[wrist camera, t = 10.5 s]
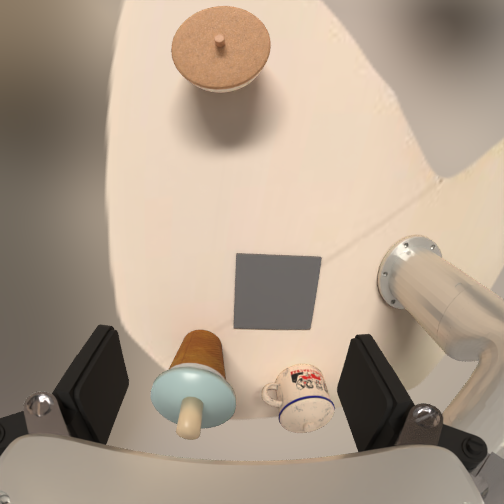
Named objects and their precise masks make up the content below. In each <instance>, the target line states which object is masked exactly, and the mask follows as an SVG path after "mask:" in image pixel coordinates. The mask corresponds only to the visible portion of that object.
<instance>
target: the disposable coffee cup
mask: <svg viewBox="0 0 504 504" xmlns="http://www.w3.org/2000/svg"><path fill="white" fill-rule="evenodd" d="M177 367H195V368H200V369H204V370H208V371H210V372H213V373H215V374H217V375H219V376H220V377H222V378H223V379H224V380H226V377H225V369H224V362H223V354H222V345H221V342H220V340H219V338H218V337H217V336H216V335H215V334H213V333H211V332H209V331H205V330H195V331H192V332H190V333H188V334H187V335H186V336H185V338H184V340H183V342H182V344H181V346H180V348H179V350H178V352H177V354H176V356H175V358H174V360H173V362H172V364H171V366H170V368H169V369H172V368H177Z"/></svg>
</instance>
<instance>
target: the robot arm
mask: <svg viewBox="0 0 504 504" xmlns="http://www.w3.org/2000/svg"><path fill="white" fill-rule="evenodd" d="M378 288H379V291H380V294H381V296H382V298H383V299H384V300H385V301H386V302H387V303H388V304H389V305H390V306H392V307H394V308H397V309H406V310H407V311H408V312H409V313H410V314H411V315H412V316H413V317H414V318H415V320H416V321H417V322H418V323H419V324H420V325H421V326H422V327H423V328H424V330H425V331H426V332H427V333H428V334H429V335H430V336H431V337H432V339H433V340H434V341H435V342H436V343H437V344H438V345H439V347H440V348H441V349H442V350H443V351H444V352H445V353H446V354H447V355H448V356H450V357H451V358H453V359H455V360H458V361H478V360H479V363H478V365H477V367H476V369H475V370H474V371H473V373H472V375H471V377H470V378H469V379H468V381H467V382H466V383H465V385H464V386H463V387H462V389H461V390H460V391H459V393H458V394H457V395H456V397H455V398H454V399H453V400H452V402H451V403H450V404H449V406H448V407H447V408H446V409H445V411H444V412H443V413H441V412H440V410H439V409H437V408H436V407H435V406H432V405H430V404H424V403H423V404H417V405H414V403H413V401H412V400H411V398H410V396H409V395H408V393H407V391H406V390H405V388H404V386H403V385H402V383H401V381H400V380H399V378H398V376H397V375H396V373H395V372H394V370H393V368H392V367H391V365H390V364H389V363H388V361H387V359H386V358H385V356H384V355H383V353H382V351H381V350H380V348H379V347H378V345H377V344H376V342H375V340H374V339H373V337H372V336H371V335H370V334H362V335H356V336H355V338H353V339H351V342H350V345H349V349H348V353H347V356H346V360H345V363H344V367H343V370H342V373H341V377H340V380H339V383H338V387H337V392H338V396H339V399H340V401H341V404H342V407H343V410H344V412H345V415H346V418H347V420H348V424H349V426H350V429H351V432H352V435H353V438H354V441H355V443H356V446H357V449H358V452H356V453H349V454H342V455H335V456H327V457H318V458H309V459H308V458H307V459H296V460H277V461H225V460H207V459H194V458H183V457H174V456H166V455H159V454H152V453H145V452H140V451H134V450H129V449H124V448H119V447H114V446H109V445H106V443H107V441H108V438H109V435H110V433H111V430H112V427H113V424H114V422H115V419H116V417H117V414H118V411H119V409H120V406H121V404H122V401H123V399H124V396H125V394H126V391H127V388H128V385H129V379H128V375H127V371H126V367H125V363H124V358H123V354H122V350H121V345H120V340H119V335H118V332H117V331H116V330H114V328H113V327H112V326H107V325H98V326H97V328H96V329H95V331H94V332H93V333H92V335H91V336H90V338H89V339H88V341H87V342H86V344H85V345H84V346H83V348H82V349H81V351H80V352H79V354H78V355H77V356H76V357H75V359H74V360H73V362H72V363H71V365H70V366H69V368H68V370H67V371H66V373H65V374H64V376H63V377H62V379H61V380H60V382H59V383H58V385H57V386H56V388H55V390H54V391H53V393H52V394H51V393H48V392H44V391H41V392H36V393H33V394H31V395H30V396H29V397H28V398H27V399H26V400H25V402H24V405H23V410H24V411H22V412H19V413H16V414H12V415H9V416H6V417H3V418H0V504H504V299H503V298H501V297H500V296H498V295H497V294H495V293H494V292H492V291H491V290H490V289H488V288H487V287H485V286H483V285H482V284H481V283H479V282H478V281H476V280H475V279H473V278H472V277H470V276H469V275H467V274H466V273H464V272H463V271H461V270H460V269H458V268H457V267H455V266H454V265H452V264H451V263H449V262H448V261H446V260H444V259H443V258H442V254H441V251H440V249H439V247H438V246H437V244H436V243H435V242H433V241H432V240H431V239H429V238H427V237H424V236H420V235H414V236H409V237H406V238H404V239H402V240H400V241H399V242H397V243H396V244H395V245H394V246H393V247H392V248H391V249H390V250H389V251H388V252H387V254H386V256H385V257H384V259H383V261H382V263H381V266H380V269H379V273H378Z"/></svg>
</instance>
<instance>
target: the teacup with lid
mask: <svg viewBox="0 0 504 504" xmlns="http://www.w3.org/2000/svg"><path fill="white" fill-rule="evenodd" d="M270 389H275V390H276V393H277V400H274V399H272V398H270V397H269V396H268V394H267V390H270ZM261 395H262V399H263V400H264V402H266V403H267V404H269V405H271V406H274V407H279V422H280V424H281V425H282V426H283V427H284V428H285V429H286V430H288V431H291V432H295V433H307V432H312V431H315V430H317V429H320V428H322V427H323V426H325V425H326V424H327V423H328V422H329V421H330V420H331V419H332V417H333V415H334V410H335V407H334V404H333V402H332V401H331V399H330V396H329V393H328V390H327V387H326V384H325V381H324V378H323V375H322V373H321V371H320V370H319V369H318V368H316V367H314V366H312V365H307V364H300V365H295V366H291V367H289V368H287V369H285V370H284V371H283V372H282V373H280V375H279V376H278V377H277V379H276V383H270V384H267V385H266V386H265V387H264V388H263V390H262V394H261Z"/></svg>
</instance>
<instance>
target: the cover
mask: <svg viewBox="0 0 504 504" xmlns="http://www.w3.org/2000/svg"><path fill="white" fill-rule="evenodd" d="M151 400H152V403H153V405H154V407H155V408H156V410H157V411H158V412H159V413H160V414H161V415H162V416H164V417H165V418H167V419H168V420H170V421H172V422H174V423H176V424H177V429H176V433H177V434H178V435H179V436H180V437H182V438H184V439H189V440H193V439H197V438H198V437H199V436H200V429H201V428H211V427H215V426H218V425H221V424H223V423H225V422H226V421H228V420H229V419H230V418H231V417H232V416H233V414H234V412H235V408H236V397H235V393H234V390H233V388H232V387H231V386H230V384H229V383H228V382H227V381H226V380H224V379H223V378H222V377H220V376H219V375H217V374H215V373H213V372H210V371H208V370H204V369H200V368H195V367H177V368H172V369H169V370H167V371H165V372H163V373H162V374H160V375H159V376H158V377H157V378H156V379H155V381H154V383H153V386H152V390H151Z"/></svg>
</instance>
